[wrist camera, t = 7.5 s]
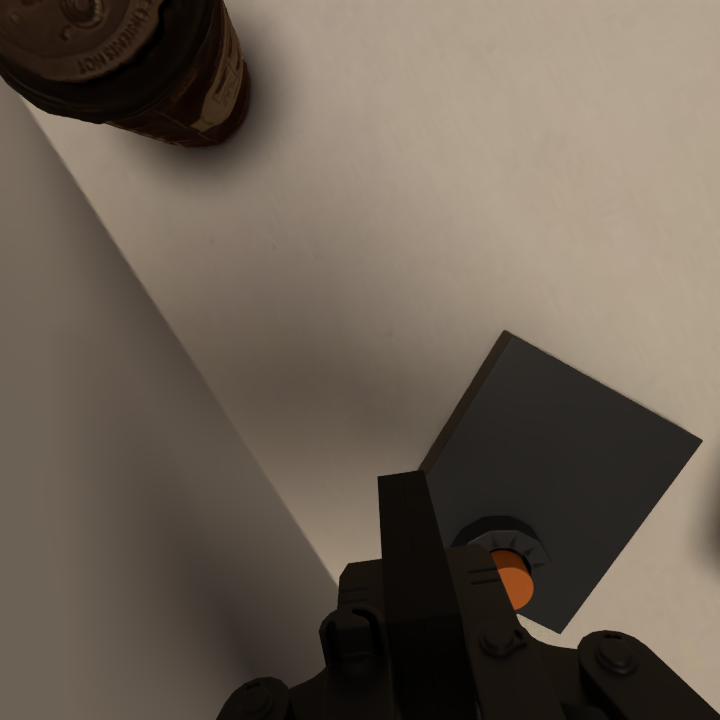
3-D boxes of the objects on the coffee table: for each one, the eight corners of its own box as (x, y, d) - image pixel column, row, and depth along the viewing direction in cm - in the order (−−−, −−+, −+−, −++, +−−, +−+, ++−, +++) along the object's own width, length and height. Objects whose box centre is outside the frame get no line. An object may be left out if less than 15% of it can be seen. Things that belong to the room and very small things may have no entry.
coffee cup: (254, -20, 27) (152, -262, 14) (293, 147, 28) (234, 68, 16) (95, 21, 27) (-145, -175, 14) (142, 183, 29) (-33, 135, 16)
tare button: (508, 598, 31) (516, 619, 29) (468, 578, 31) (474, 598, 29) (533, 562, 30) (543, 581, 29) (493, 541, 30) (500, 559, 28)
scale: (548, 615, 35) (568, 656, 31) (379, 531, 33) (381, 564, 30) (684, 429, 32) (722, 451, 28) (504, 329, 30) (521, 340, 27)
